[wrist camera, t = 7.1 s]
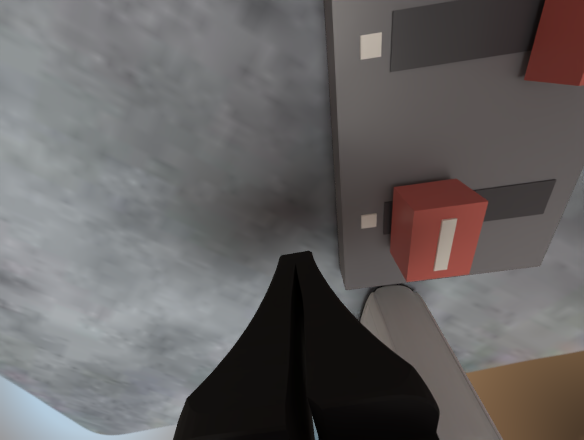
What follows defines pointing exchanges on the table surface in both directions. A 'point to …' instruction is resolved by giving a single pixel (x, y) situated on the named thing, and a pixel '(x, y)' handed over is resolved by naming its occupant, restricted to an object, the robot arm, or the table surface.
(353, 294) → the table surface
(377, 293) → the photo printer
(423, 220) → the switch
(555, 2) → the switch
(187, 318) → the table surface
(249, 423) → the robot arm
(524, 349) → the table surface
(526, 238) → the slider switch panel
